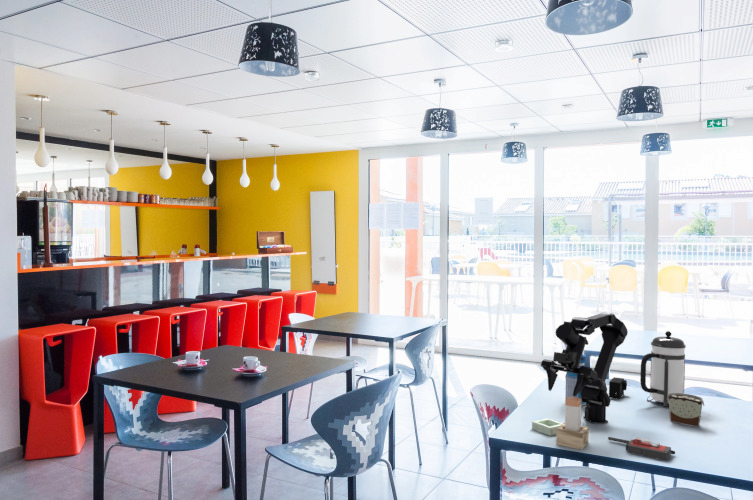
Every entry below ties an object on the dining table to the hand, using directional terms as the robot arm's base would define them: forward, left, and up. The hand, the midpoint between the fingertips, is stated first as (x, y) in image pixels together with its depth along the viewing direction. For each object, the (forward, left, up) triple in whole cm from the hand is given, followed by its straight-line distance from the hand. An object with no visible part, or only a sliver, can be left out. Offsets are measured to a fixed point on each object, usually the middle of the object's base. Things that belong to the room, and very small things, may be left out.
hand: (561, 393), depth 194 cm
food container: (-53, -6, -14) cm, 56 cm away
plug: (+1, +10, -10) cm, 14 cm away
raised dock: (+1, +10, -14) cm, 17 cm away
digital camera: (-50, -44, -14) cm, 68 cm away
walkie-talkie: (-17, +18, -14) cm, 29 cm away
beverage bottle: (-25, -35, -14) cm, 46 cm away
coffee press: (-62, -30, -14) cm, 71 cm away
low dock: (+3, -3, -14) cm, 14 cm away
